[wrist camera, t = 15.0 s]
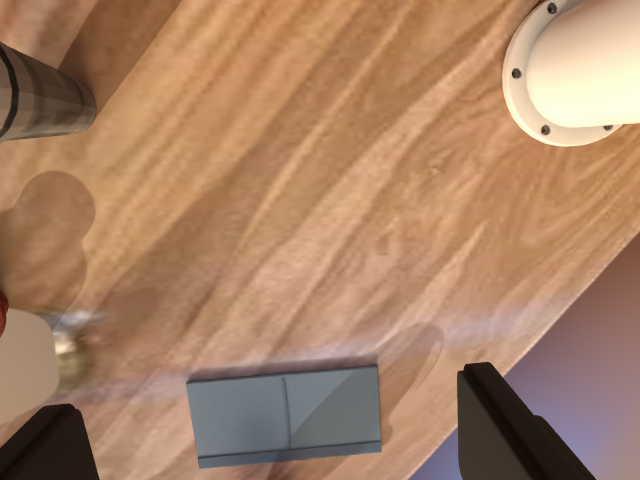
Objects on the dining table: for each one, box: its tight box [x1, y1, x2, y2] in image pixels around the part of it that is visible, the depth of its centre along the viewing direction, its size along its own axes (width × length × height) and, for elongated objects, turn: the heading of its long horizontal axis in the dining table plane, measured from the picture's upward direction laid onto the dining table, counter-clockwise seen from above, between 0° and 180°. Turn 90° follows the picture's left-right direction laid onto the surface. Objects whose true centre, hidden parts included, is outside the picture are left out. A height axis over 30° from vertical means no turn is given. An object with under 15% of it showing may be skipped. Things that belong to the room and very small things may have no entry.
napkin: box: [186, 365, 381, 469], centre depth 41 cm, size 19×10×1 cm, turn 94°
